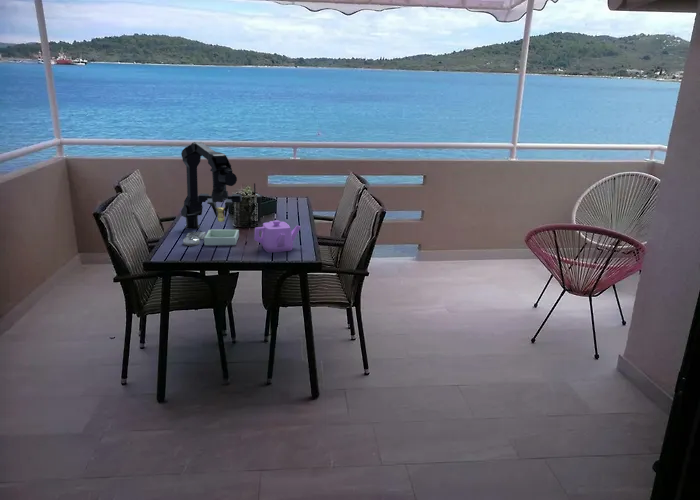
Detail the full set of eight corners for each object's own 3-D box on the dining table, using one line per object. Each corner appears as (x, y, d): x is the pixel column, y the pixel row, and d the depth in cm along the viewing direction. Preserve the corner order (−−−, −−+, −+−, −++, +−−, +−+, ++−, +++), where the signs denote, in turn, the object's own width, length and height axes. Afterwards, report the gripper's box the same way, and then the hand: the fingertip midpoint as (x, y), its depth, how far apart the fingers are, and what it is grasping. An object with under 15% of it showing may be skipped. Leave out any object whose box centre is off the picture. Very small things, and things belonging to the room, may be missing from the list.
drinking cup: (248, 222, 263) (247, 185, 257) (247, 219, 270) (246, 182, 264) (263, 222, 265) (262, 184, 259) (262, 218, 272) (261, 182, 266)
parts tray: (209, 236, 236) (209, 229, 235) (239, 236, 237) (238, 229, 236) (204, 245, 223) (204, 237, 222) (235, 245, 224) (235, 237, 223)
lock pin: (217, 219, 229) (216, 207, 227) (226, 219, 229) (225, 207, 227) (216, 222, 225) (215, 209, 223) (225, 222, 225) (224, 209, 224)
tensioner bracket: (189, 234, 238) (189, 229, 237) (205, 234, 238) (205, 229, 238) (181, 245, 221) (180, 240, 220) (198, 245, 222) (198, 240, 221)
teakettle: (270, 240, 234) (270, 214, 230) (302, 245, 228) (302, 219, 224) (250, 250, 219) (249, 222, 215) (283, 255, 213) (283, 227, 209)
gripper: (194, 185, 213) (196, 221, 218) (238, 186, 215) (239, 221, 220) (199, 181, 224) (201, 214, 229) (241, 181, 226) (242, 215, 230)
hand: (221, 216), depth 227 cm, fingers closed on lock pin, 4 cm apart
